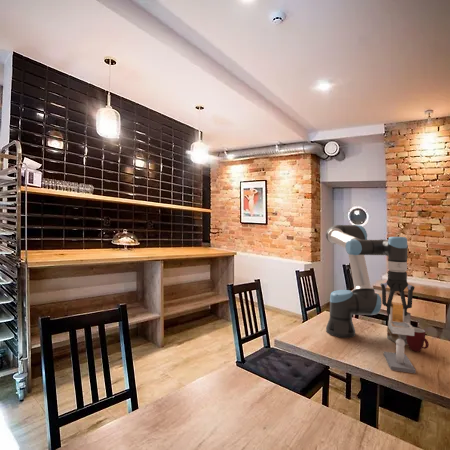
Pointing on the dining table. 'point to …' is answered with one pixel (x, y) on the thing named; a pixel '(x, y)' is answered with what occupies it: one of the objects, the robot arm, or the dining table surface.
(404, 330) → the tray with orange handle
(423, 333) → the mug
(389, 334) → the coffee box
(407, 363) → the keeper board
